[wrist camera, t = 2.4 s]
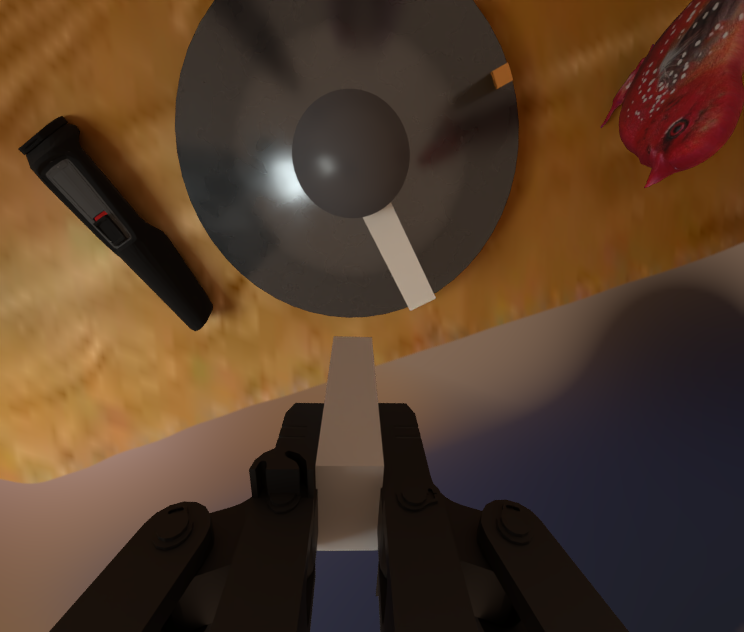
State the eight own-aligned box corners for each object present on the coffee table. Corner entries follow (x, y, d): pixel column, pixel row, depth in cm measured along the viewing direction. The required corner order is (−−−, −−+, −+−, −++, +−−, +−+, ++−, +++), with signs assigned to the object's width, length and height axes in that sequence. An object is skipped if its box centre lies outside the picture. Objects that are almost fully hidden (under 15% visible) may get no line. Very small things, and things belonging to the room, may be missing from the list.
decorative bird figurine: (545, 175, 25) (660, 174, 16) (735, -132, 19) (1088, -416, 10) (576, 193, 25) (704, 203, 16) (769, -99, 20) (1131, -337, 11)
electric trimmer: (194, 326, 28) (177, 344, 25) (30, 146, 23) (-17, 142, 20) (231, 303, 28) (217, 318, 25) (71, 112, 22) (30, 104, 19)
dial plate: (110, 78, 21) (90, 70, 20) (434, -140, 19) (442, -171, 17) (299, 353, 29) (296, 364, 28) (546, 230, 26) (559, 234, 25)
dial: (286, 138, 22) (268, 128, 17) (371, 88, 21) (377, 62, 16) (376, 304, 26) (382, 331, 21) (449, 267, 25) (471, 288, 21)
